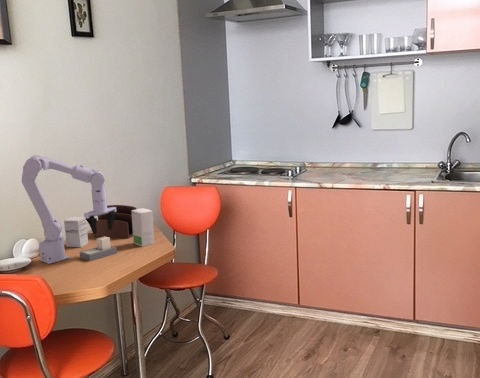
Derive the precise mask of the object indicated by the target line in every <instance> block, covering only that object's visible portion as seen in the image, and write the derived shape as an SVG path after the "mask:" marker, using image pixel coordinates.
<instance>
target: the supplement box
mask: <svg viewBox="0 0 480 378" xmlns="http://www.w3.org/2000/svg"><path fill="white" fill-rule="evenodd" d="M63 224H64V234H65V244H66V245H65V246H66V247H67V248H83V247H84V246H86V245H88V244H89V237H88V225H87V220H86V218H84V216H71V217H69V218H66V219H65V220H63Z"/></svg>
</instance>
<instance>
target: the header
mask: <svg viewBox="0 0 480 378" xmlns="http://www.w3.org/2000/svg"><path fill="white" fill-rule="evenodd" d="M117 253H118V250H117V247H116V246H111V248H110V249H106V250H103V251H102V250H98V248H97V246H96V247H93V248H89V249H86V250H82V251H80V252H79V258H80V259H82V260H86V261H89V262H93V261H96V260H99V259H103V258H105V257H106V258H107V257H109V256H112V255H116V254H117Z"/></svg>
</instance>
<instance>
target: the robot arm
mask: <svg viewBox="0 0 480 378" xmlns="http://www.w3.org/2000/svg"><path fill="white" fill-rule="evenodd" d="M41 170H42V171H48V170H55V171H58V172H61V173H66V174H68V175H69V174H70V175H71V177H72V179H74V180H76V181H80V182H84V183H89V184H91V200H92V201H91V202H92V210H90V211H88V212H85V213H83V217H84V218H86V223H88V225H89V227H90V229H91V232H92V234H93V235H94V234H97V228H96V222H97V220H98V215H102V214H105V215H106V219H107V225H108V229H109V230H112V227H113V222H114V219H115V216H116V213H114V212H117V211H116V207H110V208H107V206H108V204H107V203H108V202H107V193H106V184H105V180H106V179H105V175H104V173H103V172H101V171H99V170H95V169H94V168H92V169H90V168H87V167H84V165H83V164H80V165H78V164H76V165H75V166H71V165H69V164H66V163H63V162H60V161H58V160H56V159H55V160H54V159H53V158H49V157H47V156H46V157H45V156H40V155H36V154H35V155H32V156H30V158H28V159H27V160H26V161H25V163H24V165H23V166H22V175H21V184H22V186H23V187H24V189H25V192H26V193H27V196H28V197H29V199H30V201H31V204H32V205H33V208H34V209H35V211H36V213H37V215H38V217H39V219H40V221H41V227H42V229H43V236H44V237H45V238H44V240H43V241H40V242H39V245H38V250H39V257H40V259H39V261H40V262H43V263H45V264H49V265H51V264H53V263H57V262H61V261H64V260H67V259H70V256H68V255H66V252H65V242H64V236H63V235H62V233H61V232H62V230H63V225H62V224H61V222H59V221H58V220H57V219H56V217H55V216H54V215H53V214H52V212H51V210H50V208H49V205H48V204H47V202H46V199H45V198H44V196H43V194H42V191H41V190H40V188H39V186H38V184H37V182H36V179H37V178H38V174H39V173H40V172H41ZM96 217H97V218H96Z"/></svg>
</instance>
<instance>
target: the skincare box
mask: <svg viewBox="0 0 480 378" xmlns="http://www.w3.org/2000/svg"><path fill="white" fill-rule="evenodd" d="M131 211H132V227H133V237H132V242H133V244H135V245H136V246H139V247H147V246H150V245H151V246H152V245H154V244H155V234H154V232H155V231H154V215H153V214H154V213H153V210H151V209H148V208H143V207H141V208H136V210H131Z"/></svg>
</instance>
